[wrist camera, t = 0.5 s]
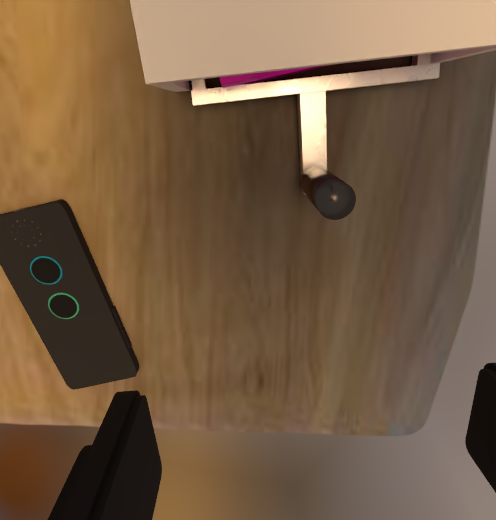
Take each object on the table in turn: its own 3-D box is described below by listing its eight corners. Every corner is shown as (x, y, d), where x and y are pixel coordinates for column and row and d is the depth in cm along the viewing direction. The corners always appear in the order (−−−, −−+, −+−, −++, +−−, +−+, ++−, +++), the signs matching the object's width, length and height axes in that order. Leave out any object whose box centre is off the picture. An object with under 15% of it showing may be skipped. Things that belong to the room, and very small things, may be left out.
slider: (174, -47, 26) (147, -116, 18) (435, -77, 25) (524, -160, 18) (210, 204, 33) (202, 234, 25) (414, 182, 32) (471, 205, 25)
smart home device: (61, 200, 31) (139, 376, 39) (70, 196, 33) (143, 366, 41) (-26, 222, 32) (68, 391, 40) (-14, 216, 34) (74, 380, 41)
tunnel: (155, -28, 26) (109, -107, 17) (452, -62, 26) (579, -162, 16) (175, 92, 29) (145, 83, 20) (440, 62, 29) (542, 39, 20)
